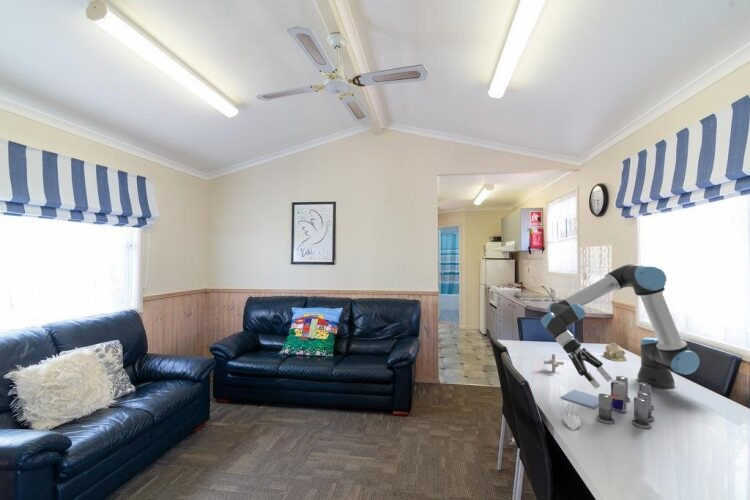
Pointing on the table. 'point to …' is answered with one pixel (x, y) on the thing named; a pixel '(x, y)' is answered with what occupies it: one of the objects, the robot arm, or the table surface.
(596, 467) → the table surface
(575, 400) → the mat
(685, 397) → the table surface
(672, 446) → the table surface
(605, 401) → the spacer posts
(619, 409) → the energy drink
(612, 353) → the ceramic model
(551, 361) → the pipe connector
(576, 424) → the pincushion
